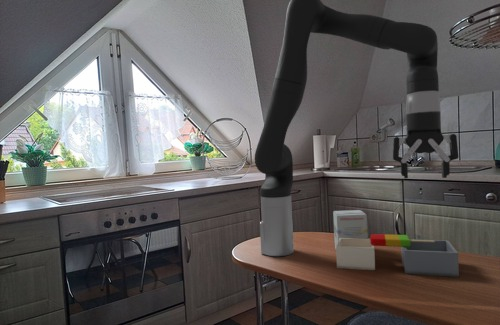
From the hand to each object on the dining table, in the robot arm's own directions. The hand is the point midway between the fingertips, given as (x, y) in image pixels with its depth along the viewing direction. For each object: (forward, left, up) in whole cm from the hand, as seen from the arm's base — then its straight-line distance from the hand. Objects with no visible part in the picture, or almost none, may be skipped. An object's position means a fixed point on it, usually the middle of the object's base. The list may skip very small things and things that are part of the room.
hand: (424, 177), depth 87 cm
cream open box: (-17, 0, -22) cm, 28 cm away
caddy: (0, 0, -22) cm, 22 cm away
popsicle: (+2, 0, -16) cm, 16 cm away
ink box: (-19, +11, -23) cm, 31 cm away
